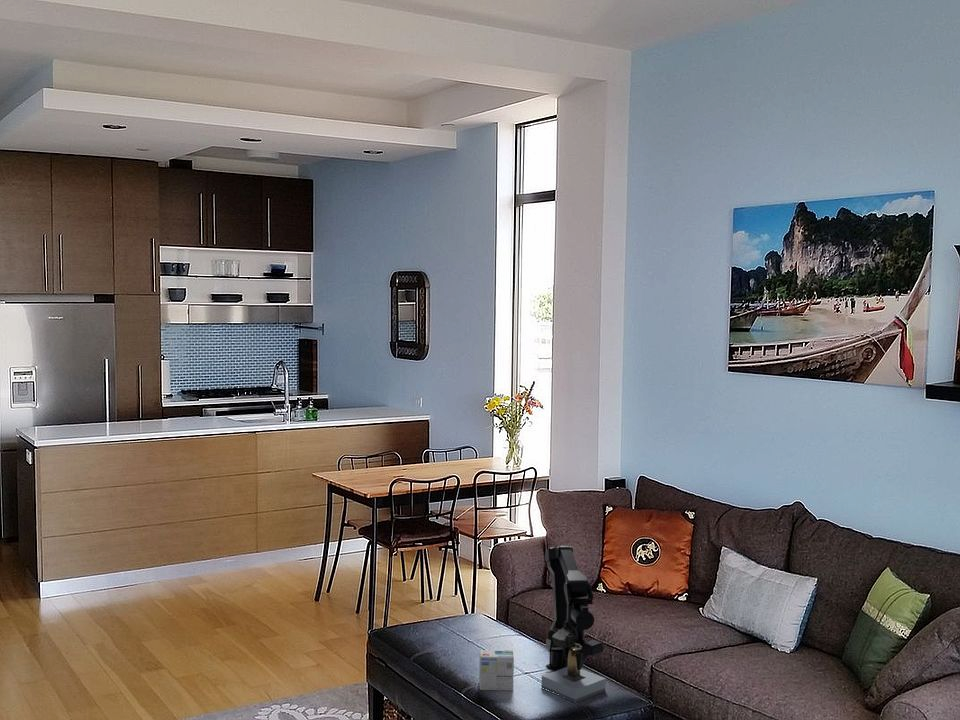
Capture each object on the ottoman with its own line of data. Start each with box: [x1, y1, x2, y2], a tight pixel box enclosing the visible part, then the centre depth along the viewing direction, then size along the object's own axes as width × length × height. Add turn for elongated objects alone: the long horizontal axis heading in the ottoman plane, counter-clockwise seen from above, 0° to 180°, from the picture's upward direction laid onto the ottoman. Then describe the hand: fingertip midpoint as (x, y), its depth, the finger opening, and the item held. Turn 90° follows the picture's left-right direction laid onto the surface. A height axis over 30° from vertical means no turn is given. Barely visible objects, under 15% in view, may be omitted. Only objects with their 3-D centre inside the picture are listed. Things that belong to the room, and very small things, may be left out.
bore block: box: [541, 667, 607, 703], centre depth 320 cm, size 14×14×4 cm
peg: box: [567, 646, 580, 677], centre depth 320 cm, size 4×4×8 cm
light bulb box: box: [478, 649, 515, 691], centre depth 321 cm, size 11×7×11 cm, turn 92°
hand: (574, 667), depth 320 cm, fingers closed on peg, 4 cm apart
